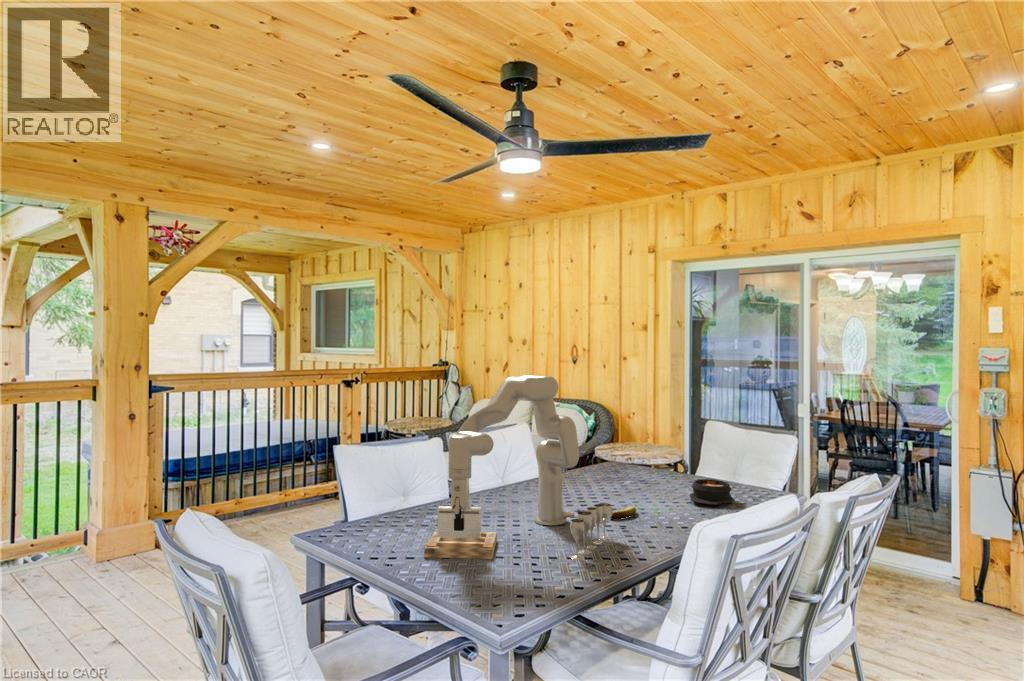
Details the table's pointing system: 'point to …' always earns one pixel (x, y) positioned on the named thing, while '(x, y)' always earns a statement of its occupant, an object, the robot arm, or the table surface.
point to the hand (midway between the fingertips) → (459, 528)
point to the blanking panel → (470, 522)
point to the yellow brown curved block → (623, 513)
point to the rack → (461, 546)
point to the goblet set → (589, 525)
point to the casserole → (711, 492)
